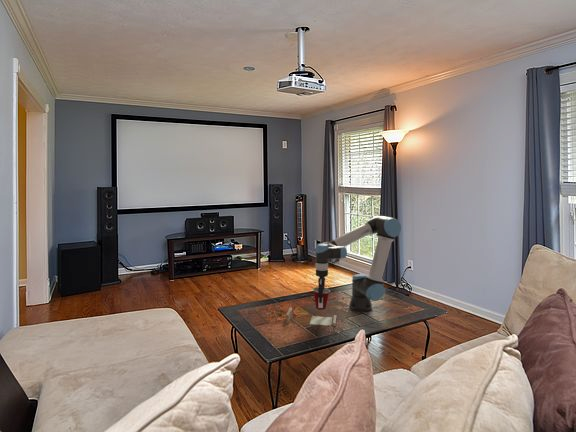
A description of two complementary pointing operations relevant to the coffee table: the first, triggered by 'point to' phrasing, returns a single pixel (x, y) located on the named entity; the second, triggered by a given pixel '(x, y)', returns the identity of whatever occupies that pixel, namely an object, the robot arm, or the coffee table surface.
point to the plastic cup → (325, 295)
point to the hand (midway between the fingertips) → (321, 305)
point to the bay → (315, 319)
